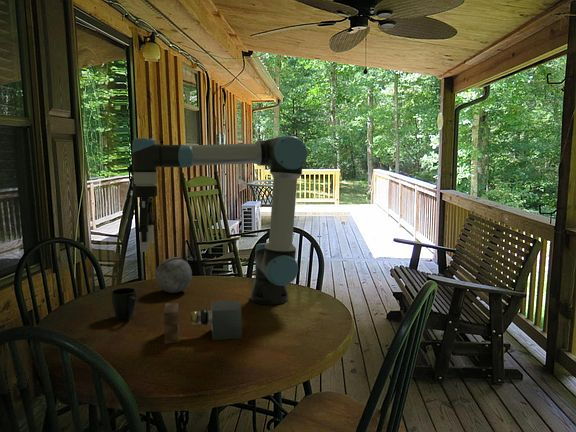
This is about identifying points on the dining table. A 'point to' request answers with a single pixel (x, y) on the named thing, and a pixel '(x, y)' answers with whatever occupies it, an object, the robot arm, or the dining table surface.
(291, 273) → the robot arm
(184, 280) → the decorative orb
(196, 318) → the tube
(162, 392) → the dining table surface
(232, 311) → the sleeve
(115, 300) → the mug
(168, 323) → the socket
